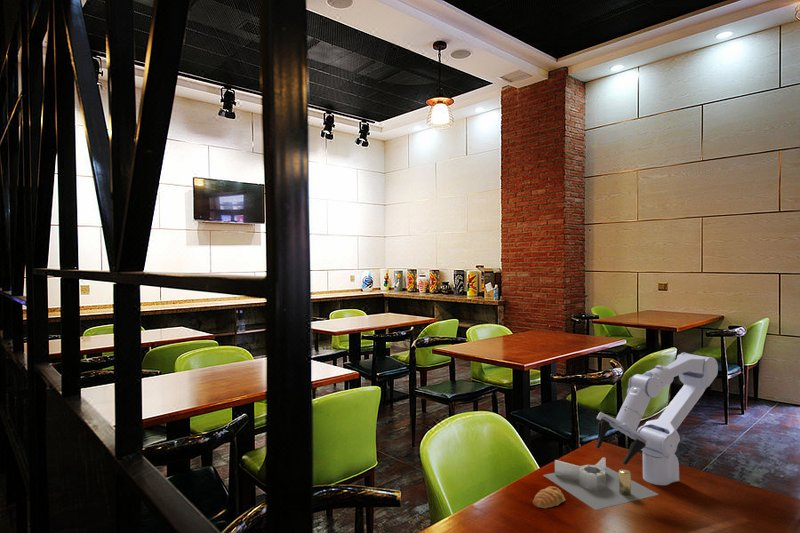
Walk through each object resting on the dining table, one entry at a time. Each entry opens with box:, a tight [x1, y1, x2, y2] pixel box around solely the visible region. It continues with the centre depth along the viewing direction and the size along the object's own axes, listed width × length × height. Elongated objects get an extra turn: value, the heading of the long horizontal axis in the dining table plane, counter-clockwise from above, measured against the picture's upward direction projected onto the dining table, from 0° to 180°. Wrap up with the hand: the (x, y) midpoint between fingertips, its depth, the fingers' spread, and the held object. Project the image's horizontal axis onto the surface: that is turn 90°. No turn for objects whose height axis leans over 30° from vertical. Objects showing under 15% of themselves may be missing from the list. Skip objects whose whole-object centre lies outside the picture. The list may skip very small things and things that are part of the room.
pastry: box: [532, 486, 566, 509], centre depth 129 cm, size 9×7×4 cm
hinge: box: [554, 457, 607, 492], centre depth 141 cm, size 16×13×4 cm
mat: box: [542, 463, 659, 511], centre depth 138 cm, size 22×22×1 cm
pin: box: [618, 469, 632, 496], centre depth 132 cm, size 3×3×6 cm
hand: (610, 455), depth 131 cm, fingers open, 7 cm apart
